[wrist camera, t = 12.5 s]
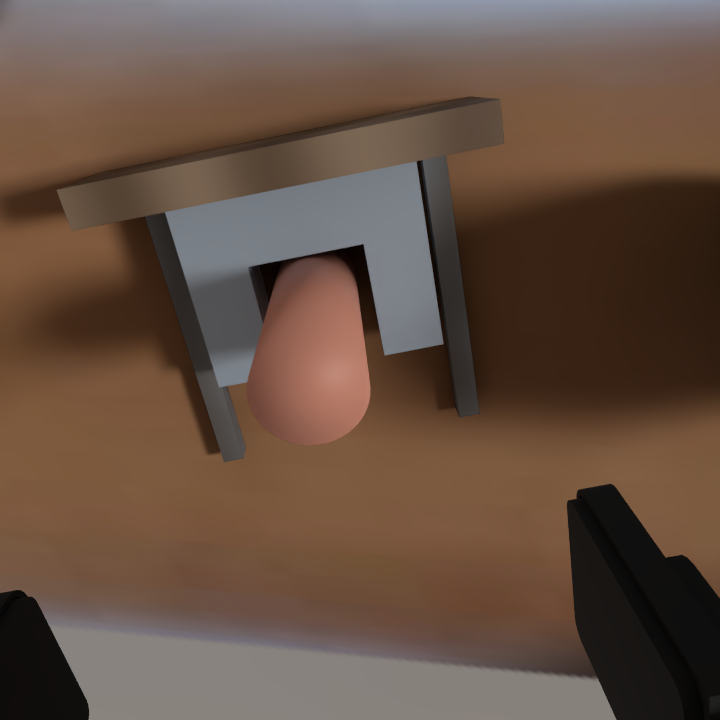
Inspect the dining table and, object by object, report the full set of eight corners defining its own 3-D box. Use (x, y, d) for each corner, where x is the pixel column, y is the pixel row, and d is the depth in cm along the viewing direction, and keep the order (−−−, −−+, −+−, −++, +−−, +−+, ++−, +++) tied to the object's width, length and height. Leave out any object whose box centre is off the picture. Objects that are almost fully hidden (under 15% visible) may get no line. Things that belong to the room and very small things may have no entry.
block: (406, 148, 27) (415, 155, 25) (433, 320, 31) (443, 344, 28) (179, 194, 28) (163, 206, 25) (228, 360, 31) (219, 387, 28)
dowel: (347, 232, 29) (357, 322, 18) (362, 306, 30) (380, 432, 19) (269, 248, 29) (232, 347, 18) (288, 321, 31) (264, 455, 19)
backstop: (470, 96, 27) (500, 99, 22) (504, 398, 33) (533, 450, 28) (101, 172, 27) (56, 189, 23) (198, 456, 33) (178, 516, 29)
